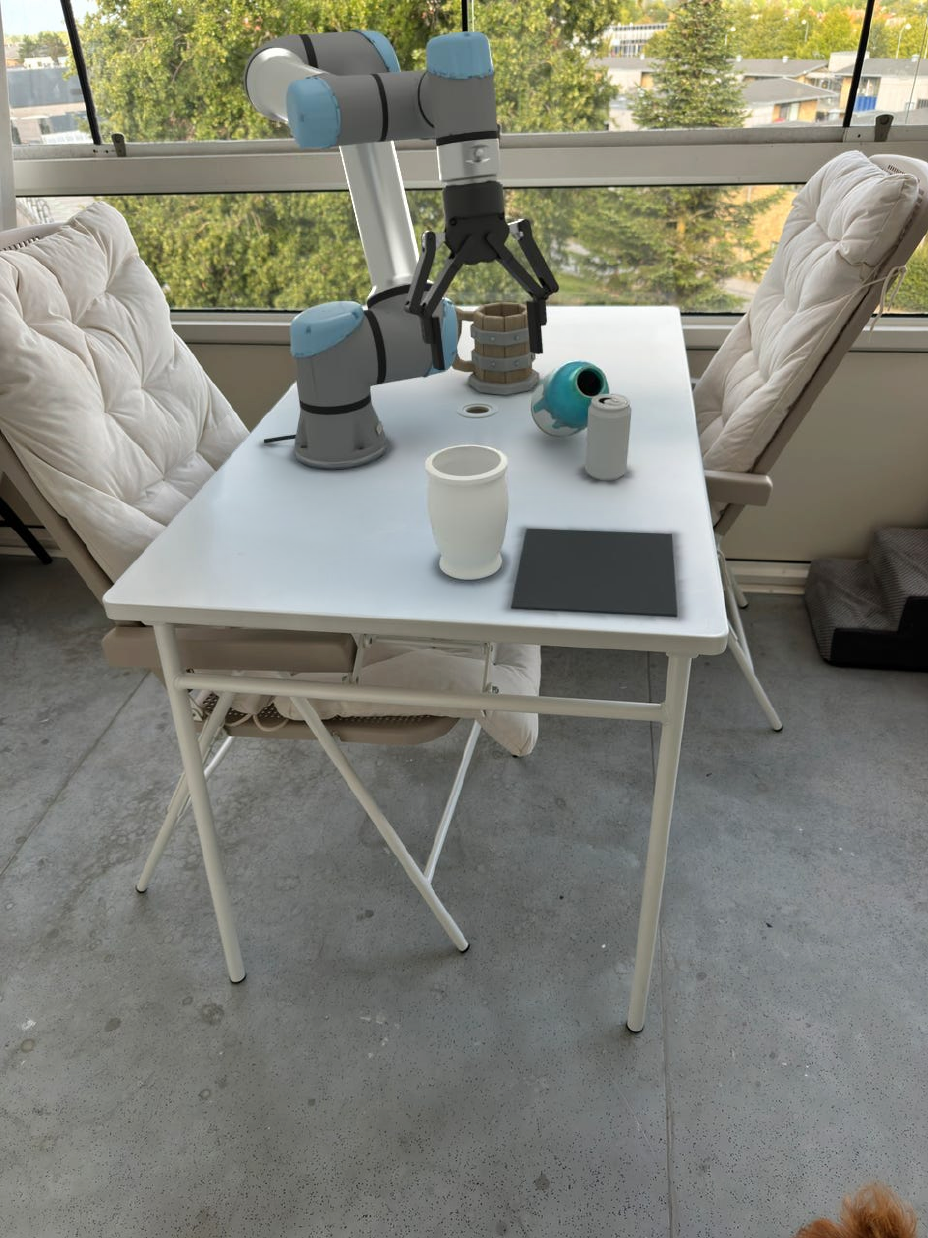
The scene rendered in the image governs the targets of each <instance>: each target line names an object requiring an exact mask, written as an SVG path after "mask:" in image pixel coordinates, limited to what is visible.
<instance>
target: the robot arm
mask: <svg viewBox="0 0 928 1238" xmlns="http://www.w3.org/2000/svg"><path fill="white" fill-rule="evenodd" d="M425 54H426V61H425V69H416V70H403V71H401V67H400V63H399V60H398V57H397V54H396V52H395V49H394V47H393V45H392V44H391V42H390V40H389V39H388V38H387V36H385V35H384V34H382V33H381V32H380V31H377V30H361V29H359V28H354V29H350V30H349V31H348V30H347V31H333V32H315V33H313V32H312V33H291V34H285V35H281V36H278V37H275V38H271V39H269V40H268V41H266V42H264V43H263V44H261V45H259V47H257V48H256V49H255V50H254V51H253V52H252V54H251V55H250V56H249V57H248V59H247V61H246V64H245V67H244V70H243V88H244V92H245V95H246V97H247V99H248V102H249V103H250V104H251V106H252V107H253V108H254V109H255V110H256V111H257V112H258V114H260V115H261V116H263V117H264V118H267V119H269V120H271V121H274V122H279V123H284V122H285V123H286V122H288V127H289V130H290V134H291V136H292V137H293V141H294V143H295V144H296V145H297V146H298V147H299V148H302V149H306V150H307V149H308V150H309V149H319V150H329V149H330V148H336V147H339V151H340V155H341V160H342V164H343V167H344V172H345V177H346V180H347V181H346V182H347V184H348V185H347V186H348V189H349V193H350V197H351V202H352V206H353V211H354V214H355V219H356V224H357V227H358V232H359V236H360V241H361V244H362V249H363V253H364V258H365V262H366V266H367V270H368V275H369V279H370V283H371V287H372V290H371V292H370V293H369V295H368V296H367V298H366V307H367V309H364V308H363V307H362V305H361V304H360V303H358V302H357V301H352V300H343V301H338V300H337V301H336V300H334V301H330V302H325V303H320V304H317V305H315V306H312V307H310V308H307V309H305V310H303V311H301V312H300V313H299V314H297V315H296V316H294V318H293V319H292V321H291V323H290V327H289V339H290V354H291V355H292V361H293V368H294V377H295V381H296V389H297V396H298V402H299V417H298V422H297V429H296V433H295V434H289V435H288V434H287V435H283V436H282V435H281V436H276V437H269V438H265V439H263V443H264V444H269V443H274V442H275V443H276V442H282V441H288V440H294V452H295V457H296V459H297V460H298V461H299V462H300V463H302V464H303V465H306V466H308V467H310V468H315V469H321V470H343V469H351V468H357V467H360V466H364V465H367V464H370V463H371V462H375V461H376V460H378V459H379V458H380V457H382V456H383V455H384V454H385V453H386V451H387V448H388V444H387V443H388V442H387V437H386V432H385V430H384V425H383V422H382V421H381V420H380V418H379V417H378V414H377V411H376V410H375V408H374V405H373V403H372V392H371V387H373V386H377V385H378V386H379V385H383V384H390V383H395V382H401V381H407V380H413V379H418V378H424V379H425V378H428V377H429V376H432V375H438V374H442V373H445V372H447V371H448V370H449V369H451V368H452V364H453V362H454V359H455V356H456V352H457V350H458V346H457V345H459V342H458V323H457V316H456V312H455V308H454V304H453V302H452V300H450V299H449V298H448V297H444V295H445V294H446V293H447V291H448V289H449V287H450V286H451V284H452V282H453V280H454V279H455V277H456V275H457V274H458V273H459V271H460V270H461V269H462V267H463V265H465V266H475V265H478V264H481V263H483V264H490V263H494V261H496V262H497V263H499V264H500V265H501V266H502V268H504V269H505V270H506V271H507V273H508V274H509V275H510V276H511V277H512V278H513V279H514V280H515V281H516V283H518V284H519V285H520V287H521V288H522V289H523V290H524V292H526V293H527V294H528V295H529V296H530V298H532V300H525V304H526V306H527V319H528V332H529V344H530V352H532V353H535V354H536V355H542V354H544V347H543V346H544V343H543V331H542V330H543V329H542V326H543V327H544V326H546V325H547V323H548V314H547V301H548V300H549V298H550V296H551V295H553V294H556V293H558V292H559V290H560V286H559V283H558V282H557V279H556V277H555V275H554V274H553V272H552V270H551V268H550V266H549V265H548V263H547V261H546V259H545V257H544V255H543V253H542V252H541V250H540V248H539V246H538V244H537V242H536V240H535V238H534V235H533V231H532V225H531V224H532V223H531V221H530V220H529V219H528V218H521V219H520V218H519V219H516V220H515V221H514V222H510V223H508V222H507V220H506V214H505V213H506V211H505V210H506V208H505V197H504V187H503V183H502V182H501V181H498V177H499V176H501V174H502V166H501V165H502V164H501V154H500V153H501V151H500V141H499V133H498V132H499V131H498V130H499V129H498V118H497V105H496V91H495V80H494V79H495V78H494V74H495V73H494V72H495V66H494V64H493V59H492V52H491V44H490V40H489V38H488V37H487V35H486V34H485V33H483V32H480V31H474V30H473V31H471V30H470V31H456V32H450V33H445V34H440V35H437V36H434V37H432V38H431V39H429V40H428V42H427V43H426V47H425ZM408 140H421V141H429V140H434V141H435V146H436V155H437V163H438V165H437V167H438V175H439V176H438V177H439V182H441V183H442V184H443V183H444V186H445V187H442V190H441V192H440V193H441V202H442V211H443V219H444V228H443V231H442V232H434V231H432V230H427V231H426V230H425V231H423V232H421V234H420V251H419V248H418V244H417V243H418V242H417V239H416V234H415V230H414V225H413V221H412V217H411V213H410V209H409V204H408V201H407V196H406V191H405V186H404V182H403V178H402V174H401V169H400V164H399V162H398V161H399V160H398V157H397V152H396V148H395V144H394V142H397V141H408ZM510 235H511V236H512V238H513V239H514V240H517V243H518V245H519V247H520V249H521V251H522V253H523V255H524V257H525V258H526V260H527V262H528V264H529V265H530V267H531V270H532V271H533V273H534V274H535V276H536V278H537V280H538V281H536V280H535V278H534V277H533V276H532V275H531V274H530V273H529V272H528V271H527V270H526V268H525V267H524V266H523V265H522V264H521V263H520V262H519V260H517V258H516V257H514V254H513V253H512V252H511V251H510V249H508V247H507V246H506V245H505V244H506V242H507V240H508V238H509V236H510ZM442 243H444V245H445V246H446V247H447V248H448V249H449V251H450V252H449V254H448V256H447V257H446V259H445V260H444V263H443V266H442V268H441V270H440V271H439V273H438V275H437V277H436V278H435V279H434V281H432V280H430V279H429V277H430V274H431V272H432V271H431V270H432V268H433V264H434V262H435V258H436V253H437V251H439V250H440V248H441V245H442ZM538 282H539V283H538Z"/></svg>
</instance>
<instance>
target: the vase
mask: <svg viewBox="0 0 928 1238" xmlns="http://www.w3.org/2000/svg"><path fill="white" fill-rule="evenodd" d="M601 394H610V387H609V382H608V378H607V376H606V374H605V372H604V371H603V370H602V369H601V368H599V367H598V366H596V365H595V364H593V363H592V362H590V361H587V360H583V359H581V360H580V359H573V360H570V361H566V362H563V363H561V364H559V365H558V366H556V367H555V368H554V369H552V370H551V371H550V372H549V373H548V374H547V375H545V377H544V378H543V379H542V380H541V381H540V382H539V383H538V385H537V387H536V388H535V389H534V391H533V393H532V396H531V400H530V413H531V417H532V419H533V422H534V424H535V425H536V427H538V428H539V430H541V431H542V432H543V433H544V434H547V435H548V436H551V437H555V438H566V437H570V436H574V435H576V434H578V433H580V432H582V431H583V430H586V429H587V424H588V408H589V406H590V405H591V400H592V398H593V397H595V396H597V395H601Z"/></svg>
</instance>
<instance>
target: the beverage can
mask: <svg viewBox="0 0 928 1238" xmlns="http://www.w3.org/2000/svg"><path fill="white" fill-rule="evenodd" d="M630 404H631V400H630V399H629V398H628V397H626V396H624V395H622V394H617V393H609V394H601V395H597V396H595V397H593V398H592V400H591V405H590V406H589V408H588V424H587V428H586V442H585V443H586V444H585V445H586V446H585V460H584V461H585V462H584V470H585V472H586V473H587V474H588V475H589V476H591V477H592V478H593V479H596V480H599V481H615V480H618V479H619V478H621V477H622V476H623V475H624V474H626V473H627V468H628V457H629V444H630V435H631V424H632V423H631V421H632V411H633V410H632V409H633V408H632V406H630Z"/></svg>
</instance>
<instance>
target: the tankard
mask: <svg viewBox="0 0 928 1238" xmlns="http://www.w3.org/2000/svg"><path fill="white" fill-rule="evenodd" d="M453 306H454V305H453ZM454 308H455V312H456V316H457V323H458V343H459V342H460V340H461V339H460V338H461V337H462V336H461V335H462V332H463V322H472V323H471V324H470V325H469V329H470V330H469V331H470V333H469V334H470V337H471V338H472V339H473V340H474V341H473V343H474V348H473V349H472V350H471V351H470V357H471V358H470V359H471V360H464V359H461V357H460V355H459V350H458V349H457V352H456V356H455V359H454V362H453V364H452V366H451V368H452V369H453V370H455V371H459V372H463V373H470V375H468V376H467V377H468V378H467V379H468V384H469V385H470V386H471V387H472V388H474V389H475V390H476V391H478V392H479V393H480V394H489V395H500V396H509V395H513V394H519V393H520V394H521V393H524V392H529V391H531V390H532V389H533V388H534V387H535V385H537V383H538V382H539V381H540V372H538V371H537V370H536V369H533V363H534V361H535V360H536V359H537V358H536V355H537V354H535V353H532V352H530V344H529V332H528V319H527V306H526V305H525V304H524V303H521V302H511V301H509V302H507V301H501V302H500V301H498V302H492V303H486V304H481V305H480V306H479V307H477V308H476V309H475V310H473V311H472V310H463V309H461V308H459V307H457V306H454ZM458 345H459V344H458ZM458 345H457V347H458Z"/></svg>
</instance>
